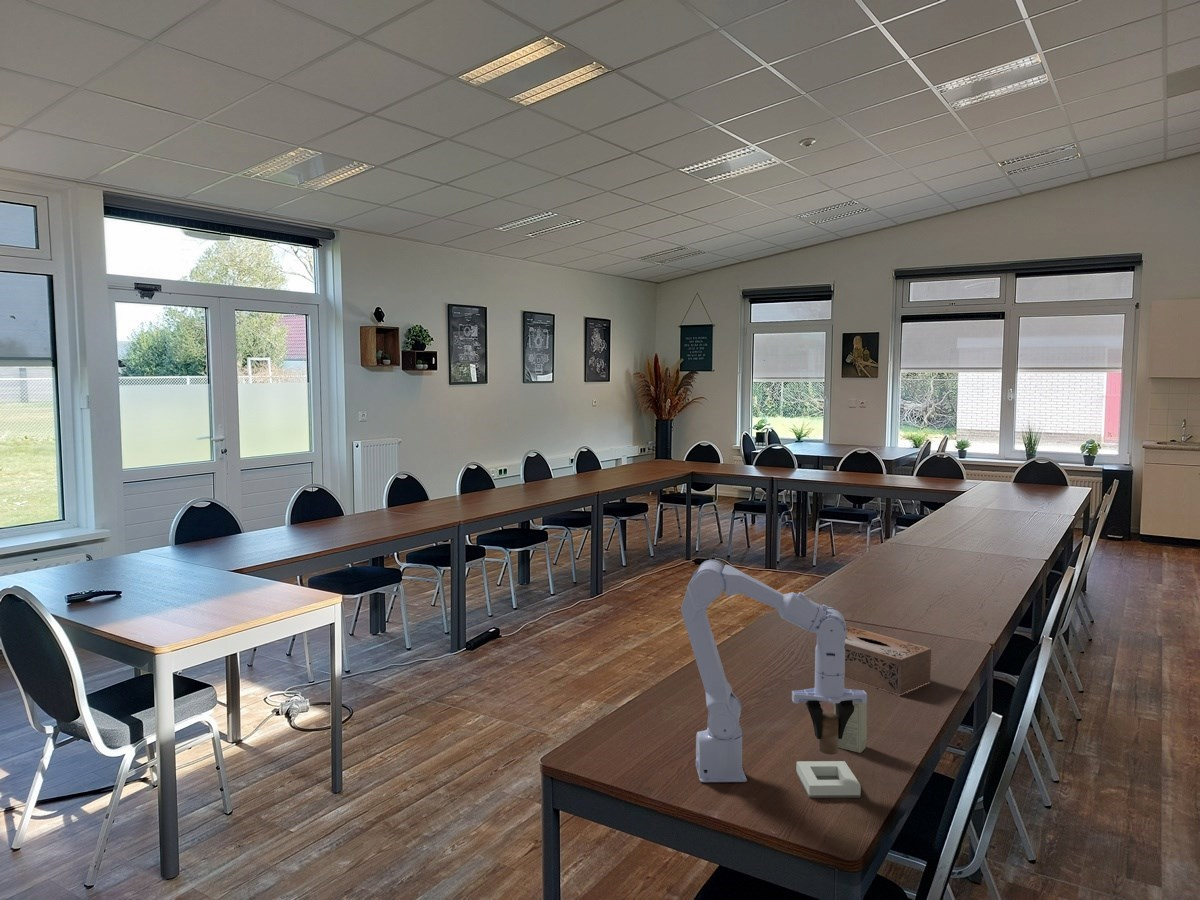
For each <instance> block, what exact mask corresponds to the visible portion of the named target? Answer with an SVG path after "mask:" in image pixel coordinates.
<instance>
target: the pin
mask: <svg viewBox="0 0 1200 900" xmlns="http://www.w3.org/2000/svg"><path fill="white" fill-rule="evenodd" d="M838 730H839V717H838V716H837V715H835V714H834V713H831V712H823V714H822V721H821V734H822V735H821V739H819V745H818V746H819V749H818V750H819V751H820V752H821V753H822V754H824V755H830V756H831V755H833V756H834V755H836V754H838V752H839V747H838Z"/></svg>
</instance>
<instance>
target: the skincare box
mask: <svg viewBox="0 0 1200 900" xmlns="http://www.w3.org/2000/svg"><path fill="white" fill-rule="evenodd" d="M853 705H854V712H853V713H852V715H851V716H850V718H849V720H848V722H847V724H846V727H845V729H844V733H843V737H842V739H838V749H843V750H848V751H851V752H855V753H859V754H861V753H862V752H863V751H864V750H865V749H866V748H867V746H868V702H867V703H861V702H853ZM833 709H834V710H833V711H834V712H833V714H835V715H836V706H835V703H833Z"/></svg>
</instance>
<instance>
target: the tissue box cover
mask: <svg viewBox="0 0 1200 900" xmlns="http://www.w3.org/2000/svg"><path fill="white" fill-rule="evenodd" d="M846 631H847V636H846V638H845V646H844V648H845V677H846V678H849V679H852V680H855V681H858V682H862V683H865V684H868V685H871V686H874V687H878V688H881V689H885V690H887V691H890V692H894V693H897V694H902V693H904V692H906V691H908V690H911V689H914V688H916V687H918V686H920V685H923V684H925V683H928V682H929V681H930V682H931V669H932V667H931V666H932V663H931V661H932V648H930V647H927V646H924V645H920V644H917V643H913V642H910V641H906V640H903V639H902V640H901V639H898V638H894V637H890V636H887V635H884V634H880V633H876V632H872V631H870V630H869V631H868V630H865V629H862V628H857V627H855V626H850V625H848V626H847V625H846ZM846 678H845V679H846ZM849 679H848V680H849ZM852 680H851V681H852ZM855 681H854V682H855ZM858 682H857V683H858Z"/></svg>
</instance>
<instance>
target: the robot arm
mask: <svg viewBox="0 0 1200 900" xmlns="http://www.w3.org/2000/svg"><path fill="white" fill-rule="evenodd" d="M724 591H725V594H724V595H725V597H730V596H735V595H740V594H741V595H744V596H745V597H748V598H750V599H752V600H755V601H757V602H760V603H762V604H764V605H766V606H769V607H771V608H774V609H775V610H777V611H778V614H779V617H780V618H781V619H782V620H784V621H786V622H788V623H790V624H793V625H794V626H797V627H799V628H801V629H803V630H805V631H807V632H809V633H815V635H816V646H815V647H814V649H815V650H814V657H815V658H814V687H812V688H806V689H805V688H804V689H800V690H791V701H792V702H793V704H797V705H798V704H800V703H804V704H805V706H806V707H807V709H808V712H809V714H810V719H811V721H812V725H813V731H814V736H815V738H816V739H817V740H820V739H821V735H822V734H821V721H822V714H823V713H824V710H823V708H822V704H821V703H829V704H834V703H835V706H836V715H837V716H838V717H839V730H838V739H842V737H843V733H844V729H845V727H846V724H847V722H848V720H849V718H850V716H851V715H852V713H853V712H854V705H853V702H861V703H867V704H868V694H867V692H866V691H865V690H863V689H862V690H861V689H850V688H845V681H846V680H845V679H846V678H845V648H844V646H845V638H846V636H847V631H846V627H847V624H846V620H845V617H844V615H843V614H842V612H840V611H839V610H838V609H836V608H835V607H831V606H828V605H827V604H824V603H823V604H822V605H821V604H819V603H817V602H815V601H813V600H811V599H808V598H807V597H806V594H805V593H803V592H801V591H799V592H798V593H795V592H793V591H791V592H788V593H782V592H780V591H779V590H777V589H774V588H773V587H771V586H769V585H767V584H766V583H763V582H762V581H760V580H758V579H756V578H754V577H752V576H750V575H748V574H747V573H745V572H743V571H741V570H740V569H737V568H736V567H734V566H732V565H729V564H725V565H724V564H723V562H721V561H719V560H717V559H708V560H704V561H703V562H701V564H700V565H699V566H698V567H697V569H696V570H695V571H694V572H693V574H692V576H691V579H690V581H689V582H688V584H687V587H686V591H685V593H684V598H683V600H682V602H681V607H680V612H681V615H682V619H683V623H684V625H685V628H686V633H687V635H688V639H689V642H690V645H691V648H692V652H693V655H694V658H695V662H696V666H697V669H698V673H699V674H700V678H701V681H702V685H703V689H704V691H705V702H706V709H707V712H708V715H707V716H708V717H707V723H706V724H707V726H706V727H707V728H706V729H705V730H700V731H697V732H696V737H695V757H696V758H695V768H696V771H697V775H698V779H699V782H700V783H746V782H747V781H748V780H747V777H746V774H745V772H744V769H743V728H742V727H741V725H740V716H741V713H742V711H743V710H742V707H743V706H742V702H741V701H740V700H739V698H738V696H736V694H735V693H734V692H733V689H732V686H731V684H730V683H729V682H728V680H727V676H726V673H725V670H724V667H723V663H722V661H721V657H720V653H719V650H718V647H717V643H716V639H715V638H714V637H715V636H714V634H713V630H712V626H711V624H710V620H709V617H708V614H707V610H708V608H709V607H710V604H711V603H712V602H714V601H715V600H717V599H718V598H719V597H720V596H721V595H722V593H723V592H724Z"/></svg>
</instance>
